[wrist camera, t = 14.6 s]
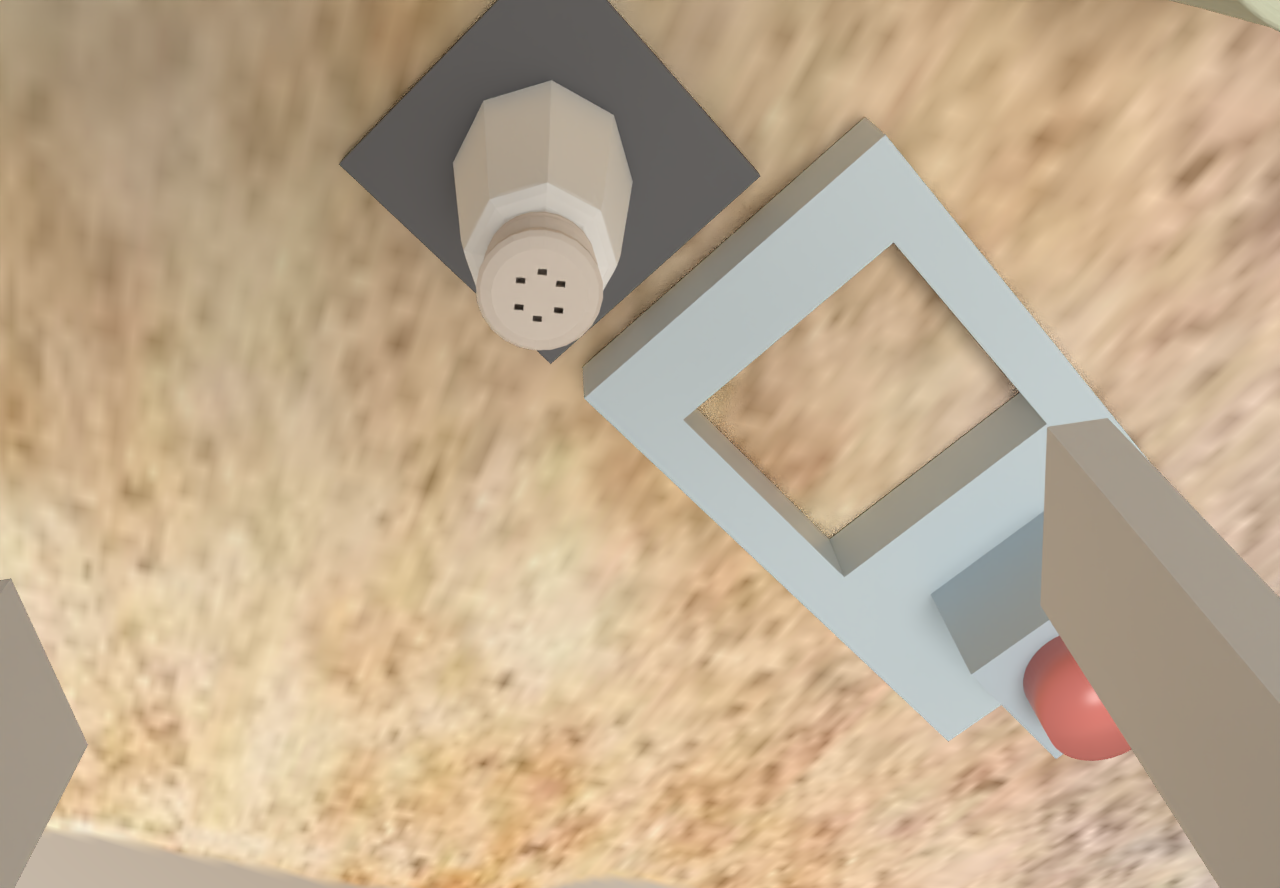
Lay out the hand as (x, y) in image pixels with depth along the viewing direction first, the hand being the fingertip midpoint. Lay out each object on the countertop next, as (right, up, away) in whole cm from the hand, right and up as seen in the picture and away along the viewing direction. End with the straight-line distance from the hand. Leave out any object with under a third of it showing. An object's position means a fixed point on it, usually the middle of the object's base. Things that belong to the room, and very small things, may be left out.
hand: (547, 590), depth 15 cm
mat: (-1, +10, +21) cm, 23 cm away
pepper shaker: (-2, +10, +20) cm, 23 cm away
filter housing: (+10, +2, +26) cm, 28 cm away
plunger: (+15, -6, +22) cm, 28 cm away
